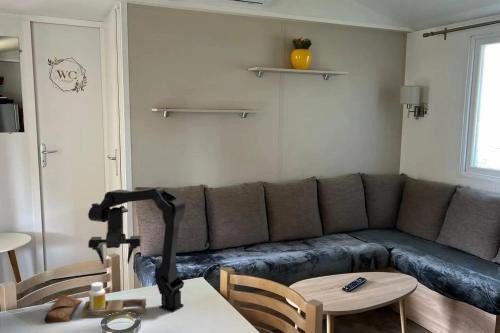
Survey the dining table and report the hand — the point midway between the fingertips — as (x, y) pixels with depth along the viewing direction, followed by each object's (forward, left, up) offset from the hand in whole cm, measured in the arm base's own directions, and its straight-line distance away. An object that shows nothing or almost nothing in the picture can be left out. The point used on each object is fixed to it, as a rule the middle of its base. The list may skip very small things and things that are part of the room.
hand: (115, 263), depth 167 cm
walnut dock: (-9, +9, -13) cm, 18 cm away
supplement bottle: (-4, +13, -13) cm, 19 cm away
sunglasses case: (+5, +19, -14) cm, 24 cm away
